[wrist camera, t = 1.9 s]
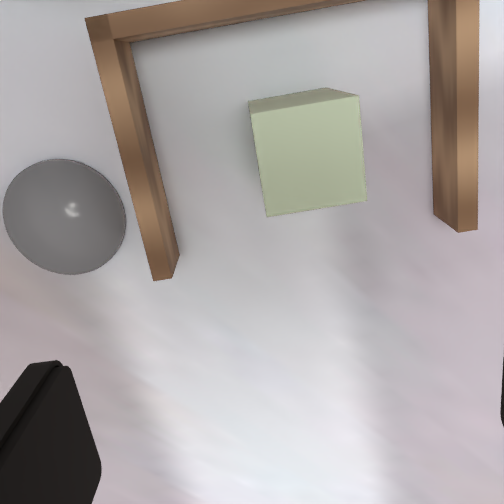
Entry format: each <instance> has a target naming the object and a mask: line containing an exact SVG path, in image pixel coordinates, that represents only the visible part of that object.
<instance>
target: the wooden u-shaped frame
mask: <svg viewBox="0 0 504 504" xmlns="http://www.w3.org/2000/svg"><path fill="white" fill-rule="evenodd" d="M359 1H365V0H181V1H176V2H170V3H165V4H159V5H154V6H148V7H143V8H137V9H132V10H126V11H121V12H115V13H110V14H104V15H99V16H93V17H88V18H85V22H86V26H87V30H88V33H89V37H90V41H91V45H92V49H93V52H94V56H95V60H96V64H97V68H98V72H99V75H100V79H101V83H102V87H103V91H104V94H105V98H106V102H107V106H108V110H109V114H110V117H111V121H112V125H113V129H114V133H115V136H116V140H117V144H118V148H119V152H120V156H121V159H122V163H123V167H124V171H125V175H126V179H127V182H128V186H129V190H130V194H131V198H132V201H133V205H134V209H135V213H136V217H137V221H138V224H139V228H140V232H141V236H142V240H143V243H144V247H145V251H146V255H147V259H148V263H149V266H150V270H151V274H152V278H153V281H158V280H164V279H170V278H172V277H173V274H174V271H175V268H176V264H177V261H178V258H179V251H178V246H177V242H176V238H175V233H174V229H173V225H172V221H171V216H170V212H169V208H168V204H167V199H166V195H165V191H164V187H163V182H162V178H161V174H160V170H159V165H158V161H157V157H156V153H155V148H154V144H153V140H152V136H151V131H150V127H149V123H148V119H147V114H146V110H145V106H144V102H143V97H142V93H141V89H140V85H139V80H138V76H137V72H136V67H135V63H134V59H133V55H132V50H131V46H130V42H136V41H142V40H147V39H153V38H158V37H164V36H170V35H175V34H181V33H186V32H192V31H197V30H203V29H209V28H214V27H220V26H225V25H231V24H237V23H242V22H248V21H253V20H259V19H264V18H270V17H276V16H281V15H287V14H292V13H298V12H304V11H309V10H315V9H320V8H326V7H331V6H337V5H343V4H348V3H354V2H359ZM428 21H429V58H430V95H431V132H432V170H433V207H434V215H435V216H437V217H438V218H439V219H441V220H442V221H443V222H445V223H446V224H447V225H449V226H450V227H451V228H453V229H454V230H455V231H456V232H458V233H459V232H466V231H472V230H478V106H479V0H428Z"/></svg>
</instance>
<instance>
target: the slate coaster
mask: <svg viewBox="0 0 504 504" xmlns="http://www.w3.org/2000/svg"><path fill="white" fill-rule="evenodd" d="M3 219H4V224H5V227H6V230H7V233H8V235H9V237H10V239H11V240H12V242H13V244H14V245H15V246H16V248H17V249H18V250H19V251H20V252H21V253H22V254H23V255H24V256H25V257H26V258H27V259H28V260H30V261H31V262H33V263H34V264H36V265H37V266H39V267H41V268H43V269H46V270H48V271H51V272H55V273H59V274H68V275H75V274H83V273H87V272H90V271H93V270H95V269H97V268H99V267H101V266H102V265H104V264H105V263H107V262H108V261H109V260H110V259H111V258H112V256H113V255H114V254H115V253H116V251H117V250H118V248H119V246H120V244H121V242H122V240H123V237H124V233H125V225H126V220H125V212H124V207H123V205H122V202H121V199H120V197H119V195H118V193H117V192H116V190H115V189H114V187H113V186H112V185H111V184H110V182H109V181H108V180H107V179H106V178H105V177H103V176H102V175H101V174H100V173H98V172H97V171H96V170H94V169H92V168H90V167H89V166H87V165H84V164H82V163H79V162H76V161H72V160H65V159H52V160H46V161H42V162H39V163H36V164H34V165H32V166H30V167H28V168H26V169H25V170H23V171H22V172H21V173H19V174H18V175H17V176H16V177H15V178H14V179H13V181H12V182H11V184H10V185H9V187H8V189H7V191H6V194H5V197H4V201H3Z"/></svg>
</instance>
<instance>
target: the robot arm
mask: <svg viewBox="0 0 504 504" xmlns="http://www.w3.org/2000/svg"><path fill="white" fill-rule="evenodd" d="M501 420H502V424H503V426H504V359H503V377H502V395H501ZM100 478H101V461H100V458H99V455H98V451H97V448H96V445H95V442H94V439H93V436H92V433H91V430H90V427H89V424H88V421H87V417H86V414H85V411H84V408H83V405H82V402H81V399H80V396H79V393H78V390H77V387H76V384H75V380H74V377H73V374H72V371H71V369H70V368H69V367H68V366H63V365H62V364H61V362H60V361H58V360H55V361H47V362H39V363H32V364H29V365H28V366H27V368H26V369H25V370H24V372H23V373H22V374H21V376H20V377H19V378H18V380H17V381H16V382H15V384H14V385H13V387H12V388H11V389H10V391H9V392H8V393H7V395H6V396H5V397H4V399H3V400H2V401H1V403H0V504H92V501H93V498H94V495H95V493H96V490H97V487H98V484H99V481H100Z"/></svg>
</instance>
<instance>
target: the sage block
mask: <svg viewBox="0 0 504 504" xmlns="http://www.w3.org/2000/svg"><path fill="white" fill-rule="evenodd" d="M248 105H249V111H250V117H251V123H252V130H253V136H254V142H255V149H256V155H257V161H258V167H259V174H260V180H261V186H262V192H263V198H264V204H265V210H266V216H267V217H271V216H277V215H283V214H290V213H296V212H302V211H308V210H314V209H320V208H326V207H333V206H339V205H345V204H351V203H357V202H363V201H367V193H366V180H365V168H364V155H363V142H362V129H361V117H360V104H359V96H358V95H354V94H350V93H346V92H342V91H338V90H334V89H330V88H321V89H315V90H310V91H304V92H298V93H292V94H286V95H281V96H275V97H269V98H263V99H257V100H252V101H248Z"/></svg>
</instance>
